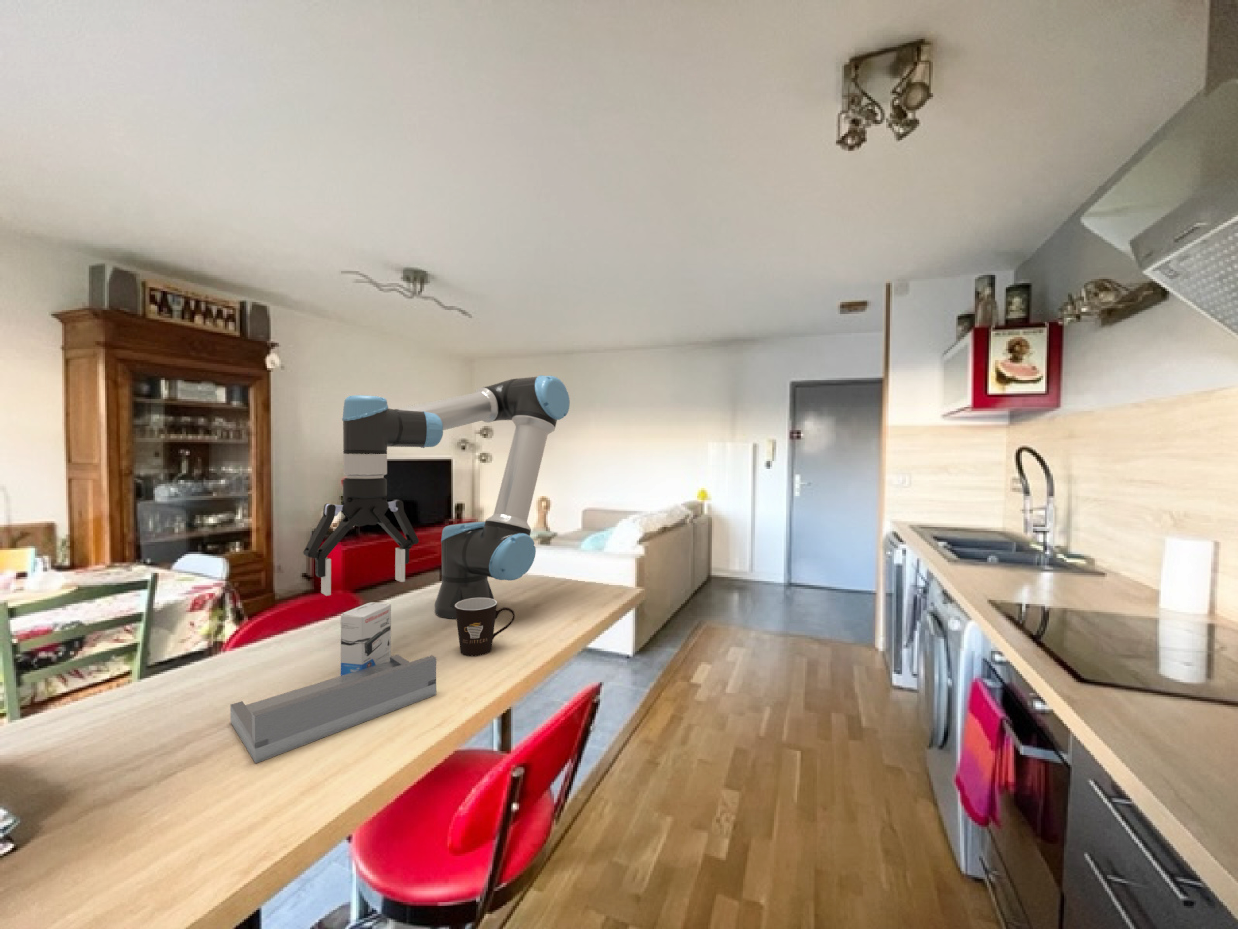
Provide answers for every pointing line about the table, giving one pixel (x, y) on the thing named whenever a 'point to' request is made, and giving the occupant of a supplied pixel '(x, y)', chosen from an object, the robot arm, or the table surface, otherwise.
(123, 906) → the table surface
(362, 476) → the robot arm
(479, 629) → the coffee mug
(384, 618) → the ink box
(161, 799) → the table surface
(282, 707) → the gray tray
